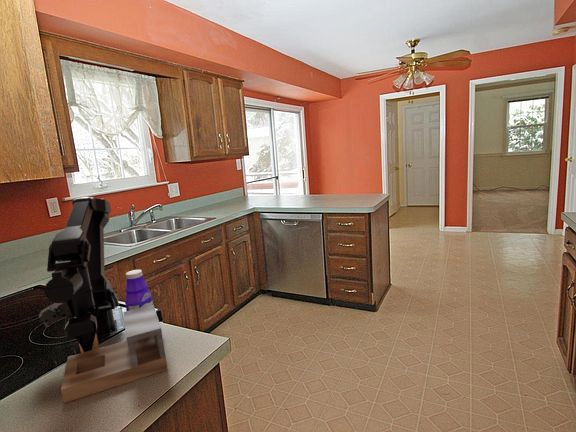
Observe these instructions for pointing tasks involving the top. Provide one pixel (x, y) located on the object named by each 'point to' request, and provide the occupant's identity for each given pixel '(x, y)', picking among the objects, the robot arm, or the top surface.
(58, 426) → the top surface
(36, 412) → the top surface
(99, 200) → the robot arm
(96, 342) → the peg
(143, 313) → the socket block
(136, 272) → the bottle
